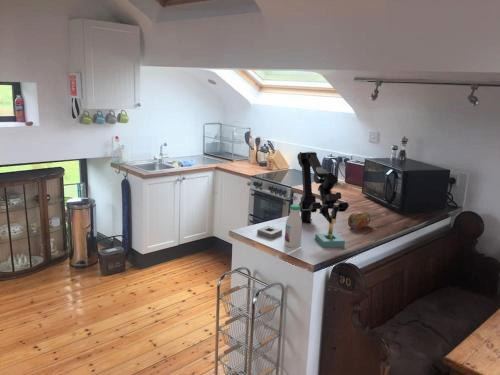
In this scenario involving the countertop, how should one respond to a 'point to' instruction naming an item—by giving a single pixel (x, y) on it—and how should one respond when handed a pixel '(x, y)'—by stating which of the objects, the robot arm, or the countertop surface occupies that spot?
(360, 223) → the tin
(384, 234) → the countertop surface
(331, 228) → the brass T-key
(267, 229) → the charcoal socket block
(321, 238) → the teal square socket block
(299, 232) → the milk bottle
